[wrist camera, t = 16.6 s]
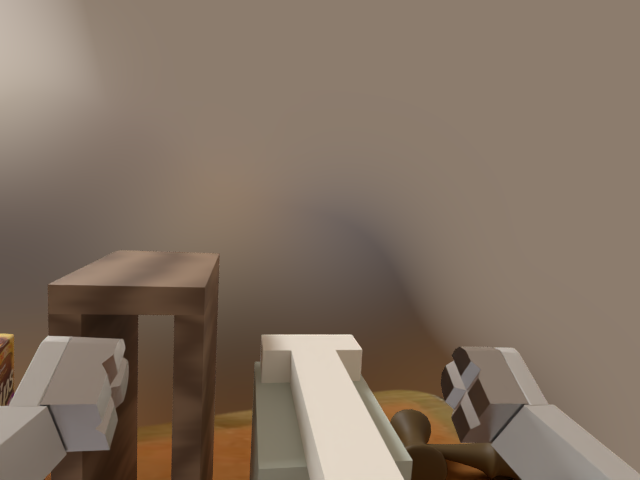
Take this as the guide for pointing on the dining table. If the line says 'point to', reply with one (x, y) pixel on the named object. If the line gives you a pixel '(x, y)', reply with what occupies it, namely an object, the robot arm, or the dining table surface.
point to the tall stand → (122, 323)
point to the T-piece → (328, 405)
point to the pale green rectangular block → (284, 435)
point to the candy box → (6, 369)
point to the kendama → (443, 450)
